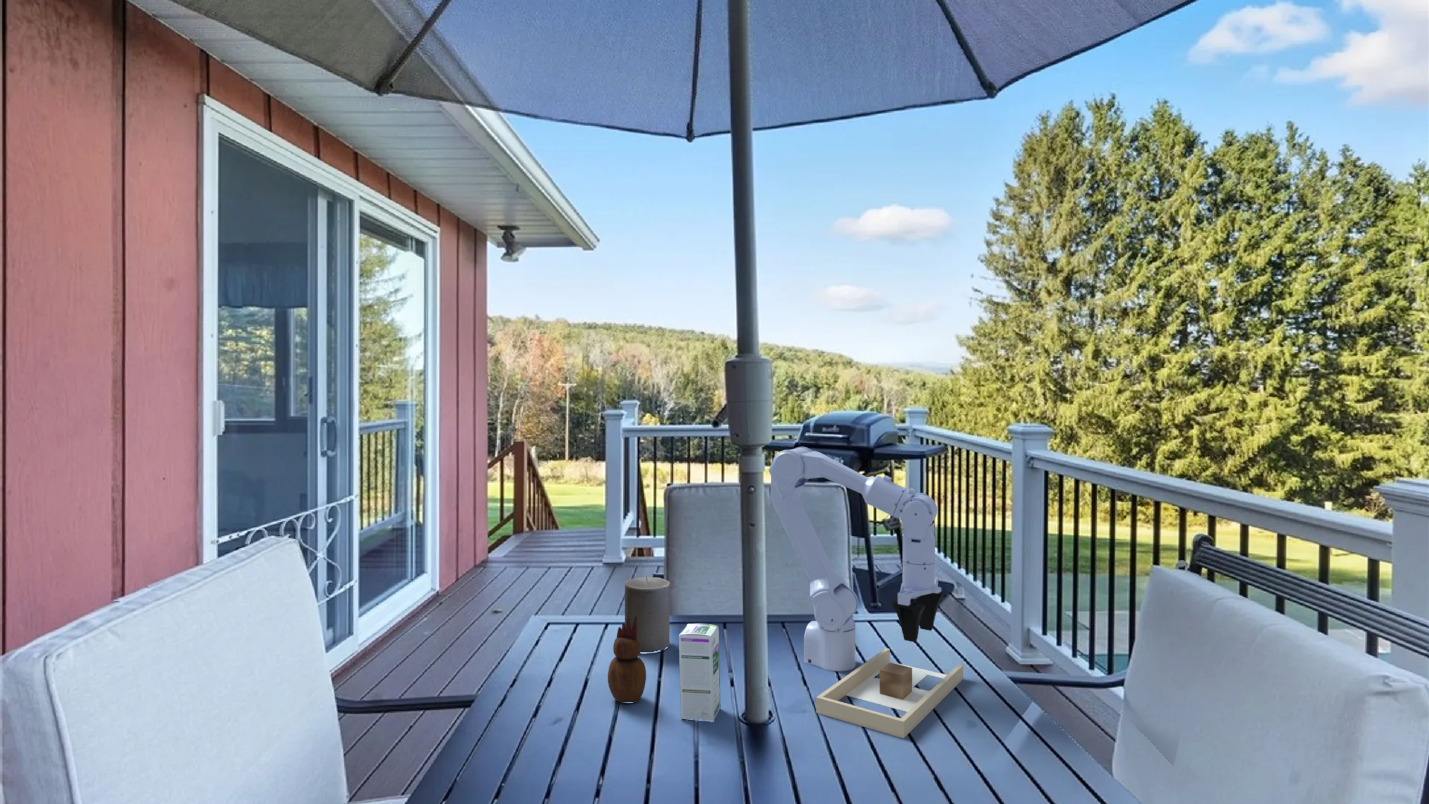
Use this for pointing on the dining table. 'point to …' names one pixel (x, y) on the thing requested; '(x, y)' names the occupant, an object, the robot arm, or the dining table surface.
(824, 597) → the robot arm
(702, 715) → the syrup box
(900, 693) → the walnut block
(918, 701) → the board
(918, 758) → the dining table surface
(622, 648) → the wooden figurine
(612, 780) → the dining table surface
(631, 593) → the pillar candle
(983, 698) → the dining table surface
